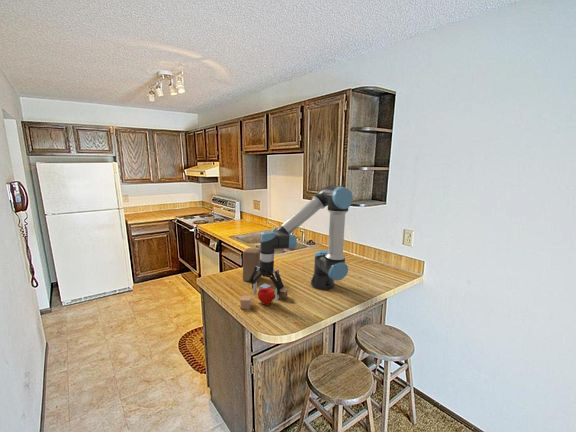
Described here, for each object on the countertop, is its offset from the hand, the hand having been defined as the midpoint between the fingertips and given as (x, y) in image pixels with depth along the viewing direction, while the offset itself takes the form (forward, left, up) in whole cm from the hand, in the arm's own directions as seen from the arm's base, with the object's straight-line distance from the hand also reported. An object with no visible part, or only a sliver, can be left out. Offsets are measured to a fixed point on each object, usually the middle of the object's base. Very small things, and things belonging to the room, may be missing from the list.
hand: (265, 297), depth 150 cm
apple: (0, 0, -4) cm, 4 cm away
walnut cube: (-5, -10, -4) cm, 12 cm away
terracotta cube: (+8, +8, -4) cm, 12 cm away
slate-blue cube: (+6, -10, -4) cm, 12 cm away
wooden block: (+24, -25, -4) cm, 35 cm away
